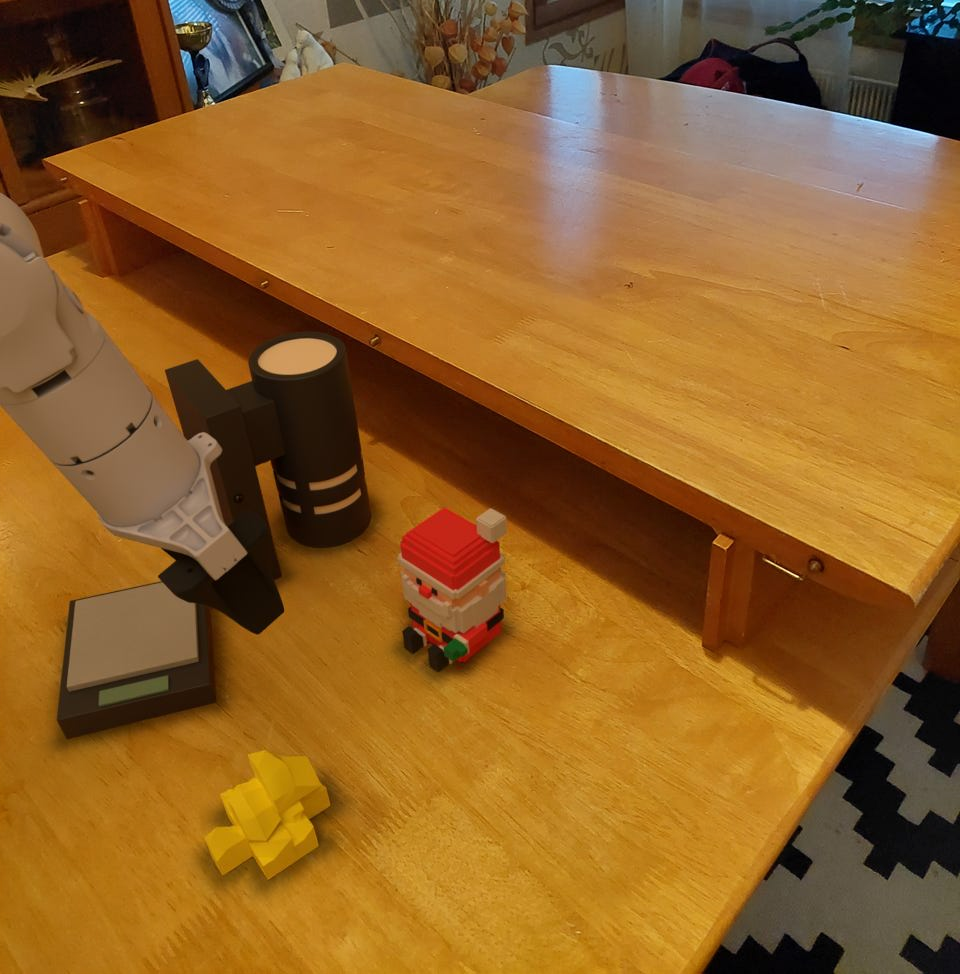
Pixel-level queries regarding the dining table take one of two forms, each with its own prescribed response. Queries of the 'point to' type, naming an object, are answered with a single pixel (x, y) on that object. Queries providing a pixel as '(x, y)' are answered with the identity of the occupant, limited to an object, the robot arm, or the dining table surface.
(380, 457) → the dining table surface
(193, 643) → the scale
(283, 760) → the yellow angular block
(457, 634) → the figurine
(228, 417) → the light fixture
